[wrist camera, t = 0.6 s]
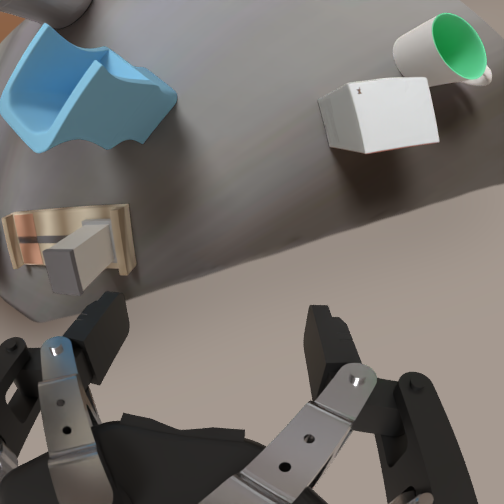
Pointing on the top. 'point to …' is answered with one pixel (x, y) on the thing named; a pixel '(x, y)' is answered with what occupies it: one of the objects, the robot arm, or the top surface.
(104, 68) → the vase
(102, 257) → the fader knob
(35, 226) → the fader track
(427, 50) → the mug
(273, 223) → the top surface
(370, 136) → the small box
